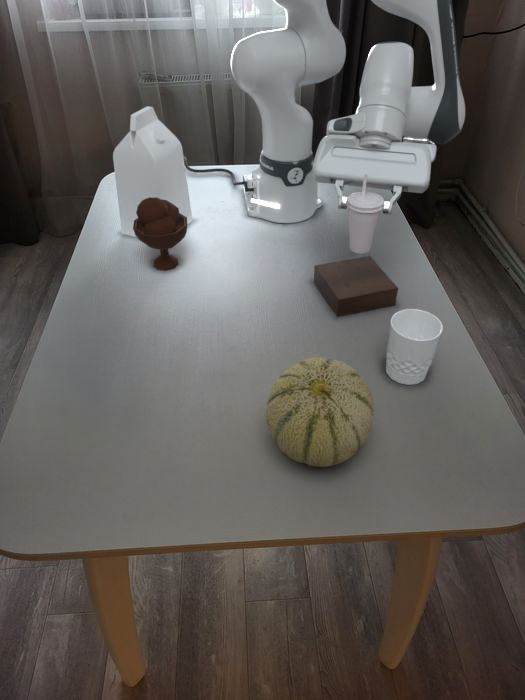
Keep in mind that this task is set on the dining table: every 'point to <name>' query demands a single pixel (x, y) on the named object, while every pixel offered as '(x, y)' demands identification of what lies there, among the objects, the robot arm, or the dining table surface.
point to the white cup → (412, 345)
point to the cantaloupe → (320, 412)
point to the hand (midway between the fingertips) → (364, 210)
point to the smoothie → (363, 218)
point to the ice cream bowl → (160, 229)
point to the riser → (354, 285)
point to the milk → (149, 168)
